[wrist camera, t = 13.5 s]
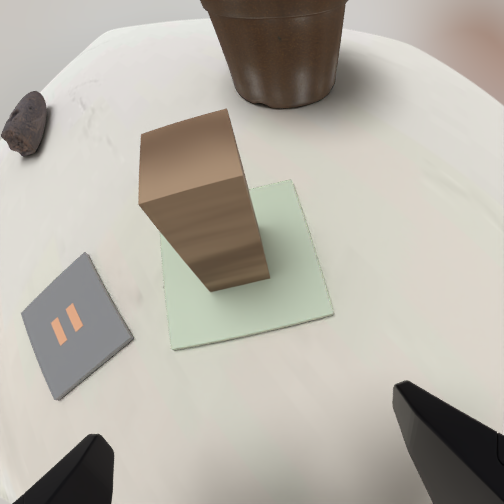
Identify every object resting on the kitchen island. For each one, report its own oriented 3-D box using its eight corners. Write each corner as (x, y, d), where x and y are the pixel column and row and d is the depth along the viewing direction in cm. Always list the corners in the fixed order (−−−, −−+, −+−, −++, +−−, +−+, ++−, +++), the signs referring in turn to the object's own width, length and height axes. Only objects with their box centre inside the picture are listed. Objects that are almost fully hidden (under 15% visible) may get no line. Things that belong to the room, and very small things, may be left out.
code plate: (134, 338, 24) (130, 336, 23) (58, 400, 22) (54, 399, 21) (88, 254, 28) (84, 251, 27) (24, 315, 26) (20, 313, 25)
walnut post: (270, 278, 24) (242, 175, 13) (210, 292, 24) (138, 204, 13) (258, 225, 26) (226, 108, 15) (202, 239, 26) (141, 134, 15)
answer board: (332, 315, 22) (333, 313, 22) (174, 350, 23) (171, 349, 22) (291, 183, 28) (291, 179, 27) (161, 217, 28) (158, 213, 28)
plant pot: (381, 96, 31) (394, -30, 17) (257, 144, 30) (224, -9, 16) (304, 41, 38) (295, -56, 24) (201, 76, 37) (168, -29, 23)
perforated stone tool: (37, 113, 43) (18, 87, 37) (60, 100, 43) (41, 73, 37) (17, 172, 37) (-9, 144, 30) (42, 158, 37) (15, 127, 30)
